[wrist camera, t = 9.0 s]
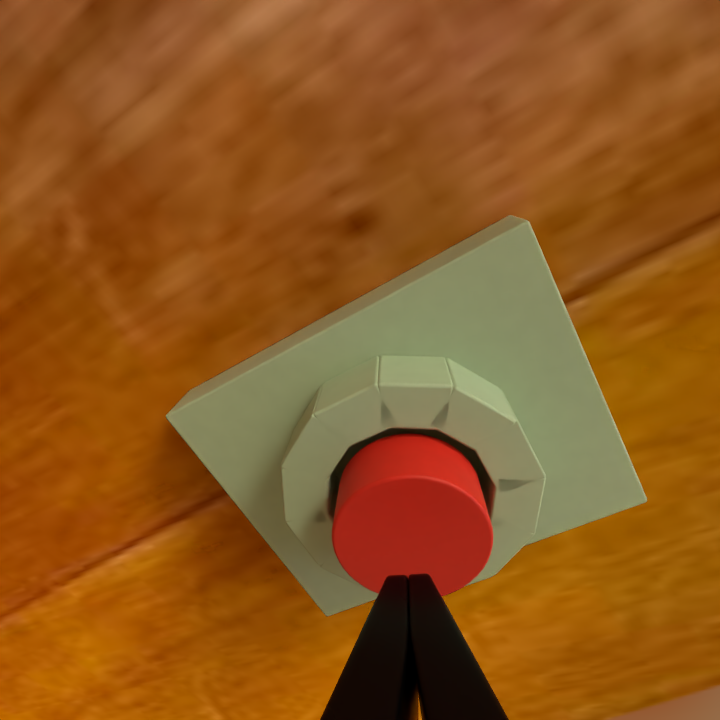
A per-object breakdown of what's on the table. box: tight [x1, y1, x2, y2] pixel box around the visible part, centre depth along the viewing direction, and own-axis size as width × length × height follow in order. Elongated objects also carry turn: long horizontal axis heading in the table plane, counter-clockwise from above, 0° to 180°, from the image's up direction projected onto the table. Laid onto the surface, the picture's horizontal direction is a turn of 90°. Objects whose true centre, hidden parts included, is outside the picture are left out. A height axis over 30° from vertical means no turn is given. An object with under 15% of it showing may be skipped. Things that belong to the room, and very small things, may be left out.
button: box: [332, 433, 493, 596], centre depth 11 cm, size 4×4×2 cm
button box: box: [166, 215, 647, 616], centre depth 13 cm, size 11×9×4 cm
